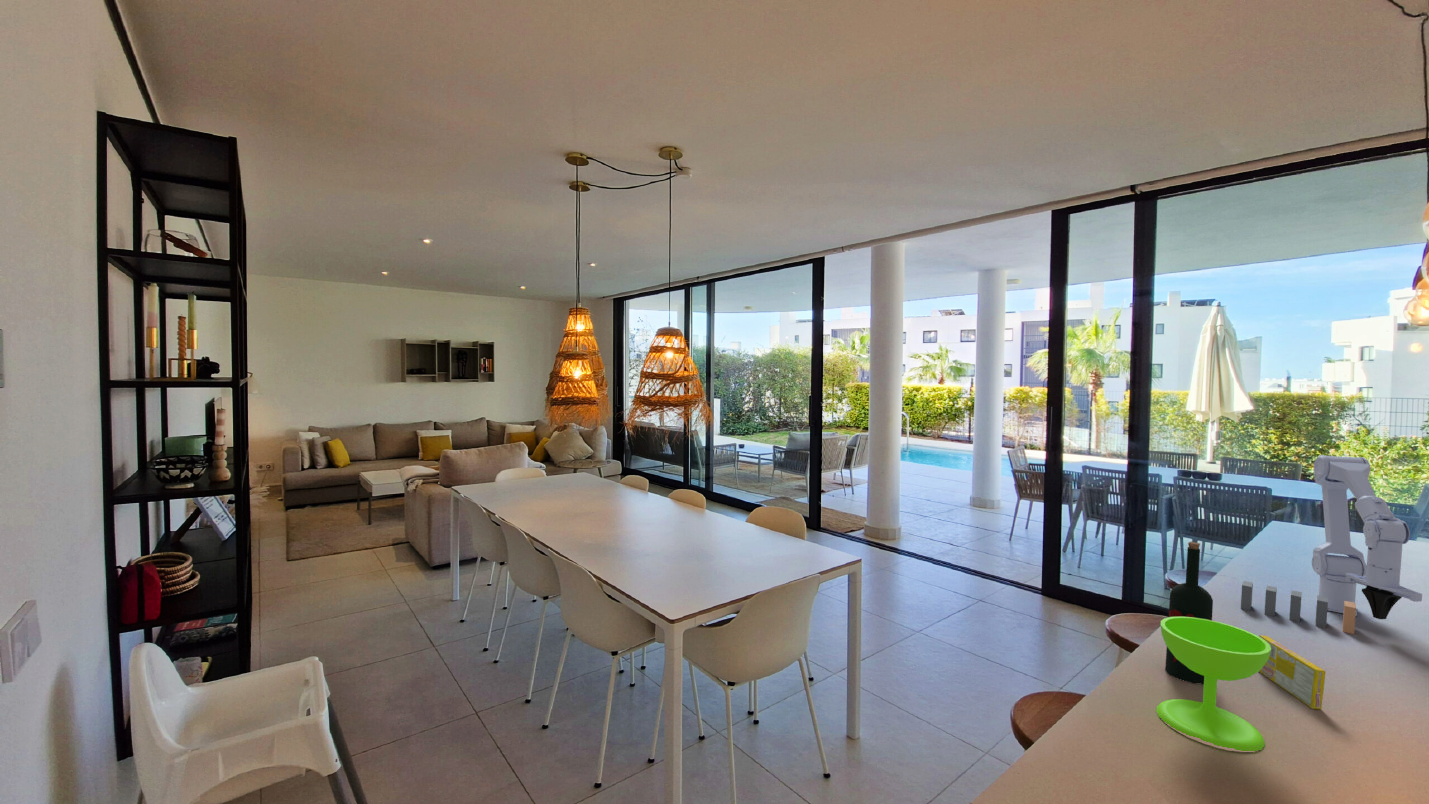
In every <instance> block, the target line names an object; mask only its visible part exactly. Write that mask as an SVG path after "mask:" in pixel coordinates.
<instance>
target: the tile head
mask: <svg viewBox="0 0 1429 804" xmlns="http://www.w3.org/2000/svg"><path fill="white" fill-rule="evenodd" d="M1356 611H1357V605H1356V602H1355V603H1354V602H1349V601H1344V613H1342V614H1343V615H1342V616H1343V617H1342V633H1346V632H1347V633H1348V634H1351V635H1355V627H1356V626H1355V625H1356V616H1355V615H1356Z"/></svg>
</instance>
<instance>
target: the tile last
mask: <svg viewBox="0 0 1429 804" xmlns="http://www.w3.org/2000/svg"><path fill="white" fill-rule="evenodd" d="M1253 585H1254V582H1252V581H1247V580H1243V582H1242V584H1241V595H1240V596H1241V597H1240V609H1241V610H1245V611H1248V612H1249V611H1251V609H1252V604H1253V603H1252V602H1253V587H1254V586H1253Z"/></svg>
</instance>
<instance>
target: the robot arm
mask: <svg viewBox="0 0 1429 804" xmlns="http://www.w3.org/2000/svg"><path fill="white" fill-rule="evenodd" d="M1370 474H1371V465H1370V462H1369V460H1368V459H1366V457H1361V456H1359V457H1356V456H1353V457H1352V456H1337V455H1336V456H1334V455H1333V456H1332V455H1323V454H1321V455H1319V456H1317V457H1316V459H1315V461H1314V463H1313V475H1314V477H1313V478H1314V482H1315V484H1317V485H1318V486H1319V485H1320V486H1321V494H1322V507H1323V519H1324V534H1325V543H1323V544H1320V545H1318V546H1316V547H1315V548H1313V550H1312V551H1313V552H1312V557H1311V567H1312V569H1313V571H1314V572H1315V574H1316V575H1318V576H1319V581H1318V583H1319V585H1318V596H1323V597H1328V609H1327V611H1329V612H1335V613H1339V614H1344V601H1349V602H1354V603H1356V594H1357V584H1358V585H1362V586H1365V588H1362V589H1361V592H1362V594H1363V595H1364V596H1365V598H1366V599H1367V602H1368V604H1369V606H1370V611H1371V614H1372V618H1374V619H1377V620H1387V618H1388V616H1389V613H1390V611H1391V610H1392V609H1393V607H1394V605H1396V603H1397V602H1398V601H1400V600H1401V599H1402V598H1405V599H1407V600H1409V601H1412V602H1416V603H1417V602H1422V600H1423V593H1420V592H1417V591H1414V590H1412V589H1410V588H1407V587H1405V586H1401V582H1400V581H1401V580H1400V579H1401V571H1402V570H1401V569H1402V568H1401V567H1402V558H1403V557H1402V555H1403V554H1402V553H1403V545H1405V544H1407V543H1408V542H1409V540H1410V538H1411V531H1410V527H1409V525H1408V524H1407V522H1406V521H1404V520H1401V519H1400V518H1398V517H1395V515H1394V514H1393V511H1391V509H1390V508H1389V506H1388V504H1387V503H1386V500H1384V498H1381V497H1379V496H1376V494H1375V492H1374V489H1373V487H1372V485H1371V483H1370V480H1369V476H1370ZM1348 490H1349V492H1351V493H1352V495H1353V496H1354V497H1355V499H1356V502H1355V503H1354V507H1355V510H1356V511H1357V513H1358V514H1359V516H1360V517H1361V520H1362V522H1363V523H1364V524H1363V525H1364V526H1363V529H1362V530H1363V531H1362V533H1363V535H1364V539H1365V540H1364V543H1365V546H1366V547H1367V556H1366V562H1365V558H1364V557H1365V556H1364V554H1363V552H1361V551H1360V550H1358V548H1355V547H1354V546H1353V545H1352V543H1351V531H1350V518H1349V517H1350V516H1349V506H1348V495H1347V493H1348ZM1335 554H1336V555H1335ZM1316 606H1317V597H1316V598H1315V607H1316ZM1356 616H1357V617H1358V613H1357V610H1356V615H1355V617H1356Z"/></svg>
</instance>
